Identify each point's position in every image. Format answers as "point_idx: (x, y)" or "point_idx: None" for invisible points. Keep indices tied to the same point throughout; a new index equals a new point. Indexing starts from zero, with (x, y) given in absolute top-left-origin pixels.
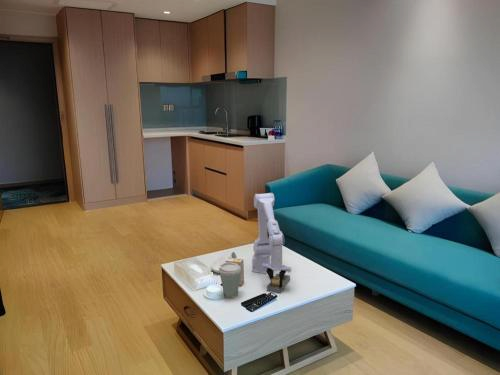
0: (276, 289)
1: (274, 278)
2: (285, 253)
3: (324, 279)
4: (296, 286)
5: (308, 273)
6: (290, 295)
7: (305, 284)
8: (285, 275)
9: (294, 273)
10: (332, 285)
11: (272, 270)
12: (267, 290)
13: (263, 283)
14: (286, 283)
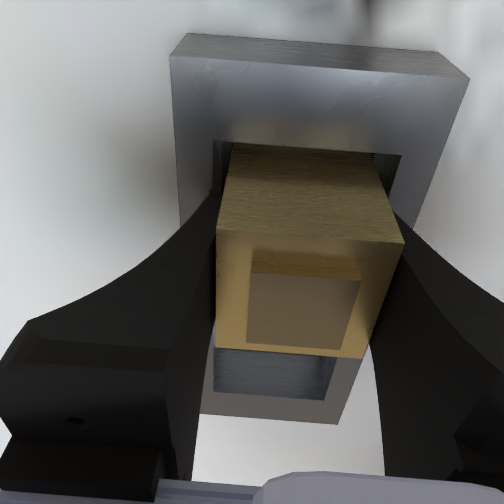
0: (258, 55)
1: (336, 270)
2: None
3: None
4: (78, 277)
5: None
6: (7, 13)
7: (20, 326)
8: (238, 408)
9: (201, 444)
10: None
11: (425, 460)
12: (431, 56)
13: (486, 264)
14: None
